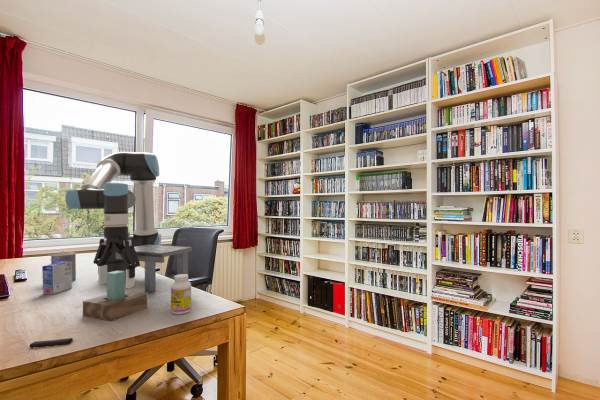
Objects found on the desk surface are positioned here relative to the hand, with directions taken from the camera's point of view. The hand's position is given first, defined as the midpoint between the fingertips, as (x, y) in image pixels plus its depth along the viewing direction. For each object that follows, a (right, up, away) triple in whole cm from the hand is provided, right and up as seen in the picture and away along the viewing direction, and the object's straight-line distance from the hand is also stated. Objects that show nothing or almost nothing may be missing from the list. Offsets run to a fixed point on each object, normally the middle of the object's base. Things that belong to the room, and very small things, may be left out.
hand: (116, 285), depth 109 cm
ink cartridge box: (-41, -10, +26) cm, 50 cm away
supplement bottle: (+23, -9, -1) cm, 25 cm away
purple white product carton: (-52, -10, +43) cm, 68 cm away
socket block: (0, -9, 0) cm, 9 cm away
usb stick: (-2, -10, -25) cm, 27 cm away
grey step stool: (+6, -9, +16) cm, 19 cm away
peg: (0, -9, 0) cm, 9 cm away
